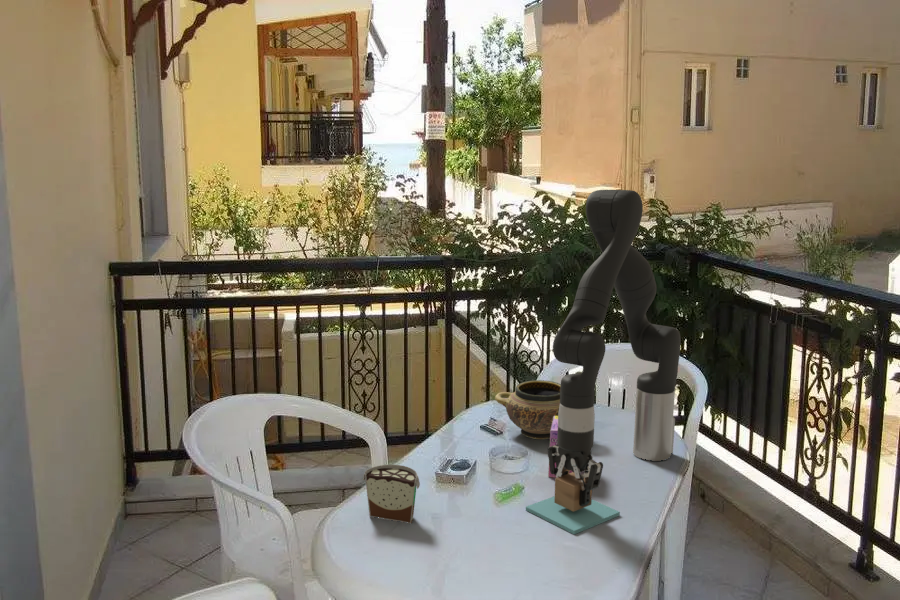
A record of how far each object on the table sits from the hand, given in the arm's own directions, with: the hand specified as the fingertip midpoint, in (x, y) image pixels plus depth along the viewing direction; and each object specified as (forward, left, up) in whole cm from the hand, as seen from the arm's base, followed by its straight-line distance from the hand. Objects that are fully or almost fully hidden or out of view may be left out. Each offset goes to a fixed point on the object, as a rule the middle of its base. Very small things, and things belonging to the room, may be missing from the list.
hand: (573, 499), depth 181 cm
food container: (+30, -22, -3) cm, 38 cm away
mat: (0, 0, -3) cm, 3 cm away
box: (-15, -17, -3) cm, 23 cm away
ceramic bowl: (-28, -38, -3) cm, 48 cm away
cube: (0, 0, -1) cm, 1 cm away
